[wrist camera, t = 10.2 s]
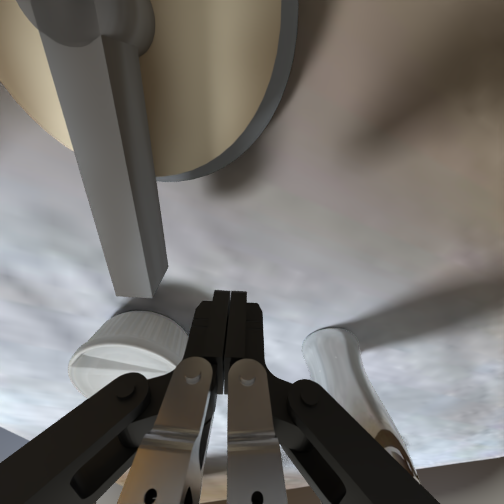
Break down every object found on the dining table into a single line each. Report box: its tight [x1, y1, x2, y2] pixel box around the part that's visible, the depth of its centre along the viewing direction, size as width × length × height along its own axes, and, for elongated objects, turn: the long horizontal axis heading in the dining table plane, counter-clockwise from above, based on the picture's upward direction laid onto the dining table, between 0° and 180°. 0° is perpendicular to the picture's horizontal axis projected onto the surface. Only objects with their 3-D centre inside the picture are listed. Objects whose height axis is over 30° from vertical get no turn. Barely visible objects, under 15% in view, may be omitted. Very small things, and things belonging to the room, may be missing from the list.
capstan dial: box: [0, 0, 281, 298], centre depth 10 cm, size 14×25×6 cm, turn 177°
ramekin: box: [68, 311, 188, 398], centre depth 26 cm, size 11×11×5 cm
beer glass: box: [302, 328, 421, 504], centre depth 22 cm, size 7×7×15 cm
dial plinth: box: [156, 0, 298, 182], centre depth 14 cm, size 16×16×2 cm
